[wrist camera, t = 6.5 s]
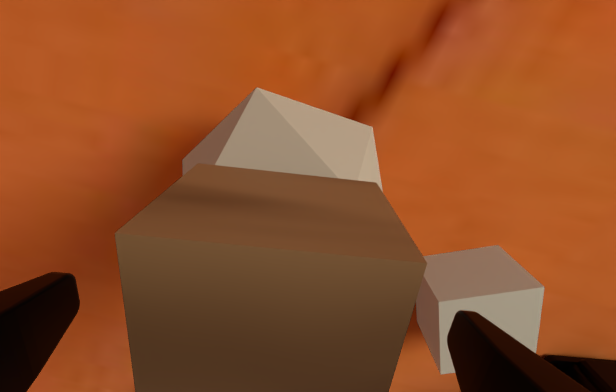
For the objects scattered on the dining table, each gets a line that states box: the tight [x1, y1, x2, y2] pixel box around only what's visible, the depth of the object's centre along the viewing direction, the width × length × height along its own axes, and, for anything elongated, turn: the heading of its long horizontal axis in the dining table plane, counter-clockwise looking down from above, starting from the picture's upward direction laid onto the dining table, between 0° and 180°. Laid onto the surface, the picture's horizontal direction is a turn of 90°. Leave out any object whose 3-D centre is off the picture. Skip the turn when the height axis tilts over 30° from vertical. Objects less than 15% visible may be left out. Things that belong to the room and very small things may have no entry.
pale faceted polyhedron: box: [182, 87, 383, 192], centre depth 13 cm, size 8×9×10 cm
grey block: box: [416, 245, 544, 374], centre depth 18 cm, size 5×5×4 cm
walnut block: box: [115, 163, 427, 392], centre depth 8 cm, size 5×5×4 cm
